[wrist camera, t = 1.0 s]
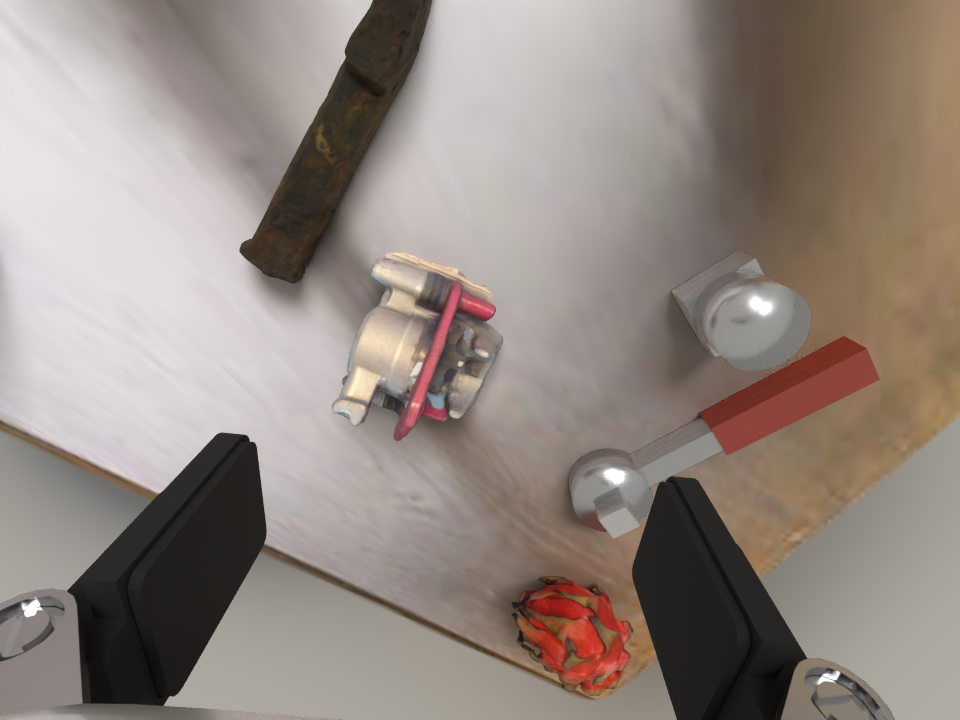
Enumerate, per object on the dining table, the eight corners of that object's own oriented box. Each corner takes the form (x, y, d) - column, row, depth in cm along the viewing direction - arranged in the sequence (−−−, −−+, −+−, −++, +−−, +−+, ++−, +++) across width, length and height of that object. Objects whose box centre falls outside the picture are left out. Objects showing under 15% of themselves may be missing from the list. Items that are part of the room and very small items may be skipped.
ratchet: (836, 318, 33) (891, 347, 29) (864, 381, 35) (919, 417, 30) (554, 471, 39) (562, 514, 35) (591, 517, 41) (603, 564, 37)
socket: (739, 245, 31) (791, 267, 26) (770, 307, 33) (824, 340, 27) (666, 290, 33) (701, 320, 27) (699, 347, 34) (738, 386, 29)
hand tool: (308, 276, 33) (281, 296, 29) (256, 240, 32) (221, 255, 28) (475, 17, 27) (472, -6, 23) (417, -38, 26) (402, -73, 22)
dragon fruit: (612, 614, 48) (516, 550, 47) (670, 618, 41) (558, 543, 40) (584, 707, 44) (477, 638, 43) (645, 730, 37) (518, 648, 36)
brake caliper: (491, 448, 36) (366, 506, 26) (396, 368, 40) (261, 393, 31) (557, 314, 31) (437, 324, 21) (442, 243, 36) (301, 225, 26)
